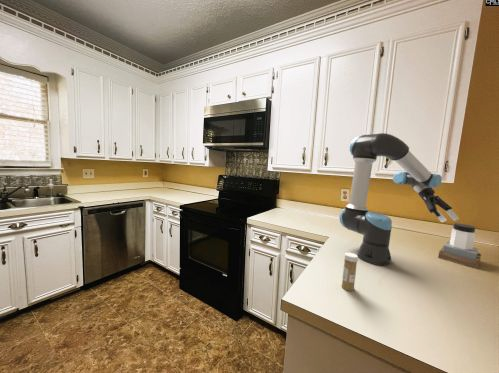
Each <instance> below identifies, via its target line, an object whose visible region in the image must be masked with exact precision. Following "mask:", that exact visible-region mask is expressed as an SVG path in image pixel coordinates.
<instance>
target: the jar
mask: <svg viewBox="0 0 499 373" xmlns="http://www.w3.org/2000/svg"><path fill="white" fill-rule="evenodd" d="M475 238H476V226H473V225H469V224H464V223H454V224H453V227H452V228H451V234H450V240H449V242H450V245H452V246H453V247H456V248H460V249H463V250H473V248H474V245H475V240H476V239H475Z"/></svg>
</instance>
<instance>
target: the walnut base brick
mask: <svg viewBox="0 0 499 373" xmlns="http://www.w3.org/2000/svg"><path fill="white" fill-rule="evenodd" d="M444 246H445V244H443V246H442V248H441V249H439V251H438V256H437V258H438V259H441V260H445V261H448V262H451V263H455V264H459V265H462V266H466V267H470V268H473V269H477V270H478V269H479V266H480V264H481V263H480V262H481V258H482V254H481V253H480V252H477V256H476V259H475V260H471V259H468V258H464V257H460V256H456V255H453V254H449V253H445V252H443V251H444Z"/></svg>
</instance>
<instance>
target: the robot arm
mask: <svg viewBox="0 0 499 373" xmlns="http://www.w3.org/2000/svg"><path fill="white" fill-rule="evenodd" d="M349 152H350V154H351V156H352V160H353V161H354V169H353V174H352V176H353V177H352V182H351V188H350V193H349V194H350V196H349V202H348V204H346V205H345V208H343V209H342V210H341V211H340V212H339V223H340V224H341V226H342V227H343V228H345V229H346V230H349V231H352V232H355V233H357V234H360V235H362V242H361V244H360V246H359V248H358V249H357V254H356V255H357V256H358V259H361V260H362V261H364V262H366V263H369V264H372V265H377V266H389V265H391V264H392V256H391V252H390V240H391V233H392V229H393V225H392V224H393V221H392V219H391V218H390V217H389V216H388V215H385V214H382V213H380V212H375V211H369V209H368V207H367V202H368V194H369V188H370V182H371V176H372V170H373V164H374V163H375V162H376V161H377V158H378V157H385V158H388V159H389V160H391V161H394V162H396V163H397V164H398V165H399V166H400V167H401V168H402V169H403V170H404V171H400V172H396V173H394V175H393V176H392V177H393V178H392V180H393V183H395V184H396V185H405V186H411V187H412V189H413V190H414V192H416V193H417V194H418V196H419V197H420V198H421V199H422V200H423V202H424V204H425V206H426V208H427V210H428V211H429V212H430V213H431V214H432V213H433V214H434V215H435V217H436V218H437V219H438V221H439V222H440V223H444V222H446V221H448V219H447V218H446V216H444V214H443V213H441V211H440V210H439V209H438V208H437V206H438V207H440V208H441V209H442V210H444V211H445V213H446V214H447V215H448V216H449V217H450V219H452V221H453V222H455V221H458V220H460V218H459V217H458V215H456V213H455V212H454V211H453V207H452V206H451V205H449V204H448V203H447V202H446V201H445V200H443V199H442V198H441V197H440V196H439V195H434V194H435V193H436V191H435V190H434V189H435V188H438V187H440V185H441V183H442V176H441V175H440V174H437V173H432V172H430V171H429V170H428V168H427V167H425V165H424V164H423V163H421V161H420V160H419V159H418V158H417V157H416V156H415V155H414V154H413V153H412V152H411V151H410V147H409V146H408V144H406V143H405V141H403V140H401V138H398V137H397V136H395V135H393V134H389V133H385V132H380V133H374V134H372V133H371V134H362V135H358V136H356V137H354V138H353V139H352V141H351V142H350V145H349Z"/></svg>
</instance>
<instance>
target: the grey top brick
mask: <svg viewBox="0 0 499 373" xmlns="http://www.w3.org/2000/svg"><path fill="white" fill-rule="evenodd" d="M444 245H445V246H444ZM444 245H443V246H444V251H443V252H445V253H449V254H453V255H456V256H460V257H464V258H468V259H471V260H475V259H476V256H477V253H478V250H479V248H477V247H473V250H463V249H460V248H456V247H453V246H452V245H450V241H447V242H446V243H445V244H444Z"/></svg>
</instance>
